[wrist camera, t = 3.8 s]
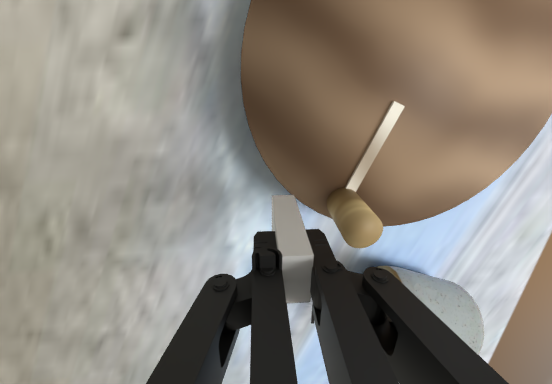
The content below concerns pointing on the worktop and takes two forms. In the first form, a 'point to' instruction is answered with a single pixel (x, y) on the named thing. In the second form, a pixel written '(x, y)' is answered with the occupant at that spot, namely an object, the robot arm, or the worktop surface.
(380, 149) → the disc
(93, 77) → the worktop surface
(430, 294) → the ceramic mug
